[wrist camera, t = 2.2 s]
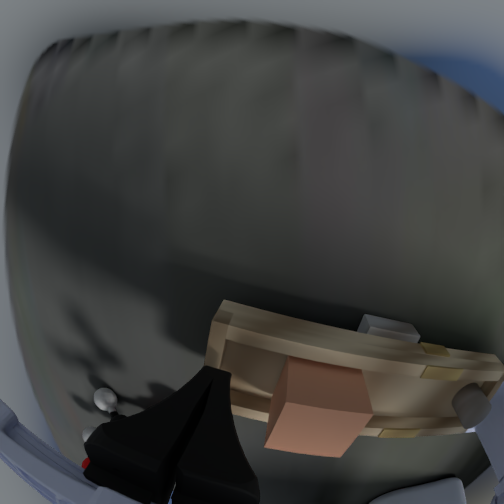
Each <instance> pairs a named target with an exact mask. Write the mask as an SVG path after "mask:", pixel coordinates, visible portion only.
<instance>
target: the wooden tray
mask: <svg viewBox="0 0 504 504" xmlns="http://www.w3.org/2000/svg"><path fill="white" fill-rule="evenodd" d="M420 337H421V336H420V335H419V333H418V332H417V330H416V329H415V328H414V326H413V325H412V324H410V323H405V322H400V321H396V320H391V319H387V318H382V317H377V316H373V315H368V314H364V316H363V318H362V320H361V323H360V325H359V327H358V330H357V332H355V331H350V330H346V329H341V328H336V327H332V326H327V325H323V324H319V323H314V322H310V321H306V320H302V319H297V318H293V317H289V316H285V315H281V314H277V313H273V312H269V311H265V310H262V309H258V308H254V307H250V306H246V305H243V304H239V303H235V302H232V301H228V300H225V299H224V300H223V302H222V304H221V305H220V307H219V309H218V311H217V312H216V314H215V316H214V318H213V319H212V323H211V328H210V333H209V339H208V344H207V350H206V356H205V361H204V366H205V365H207V366H211V367H214V368H217V369H221V370H224V371H228V372H230V373H231V374H232V377H231V382H230V400H231V409H232V414H235V415H239V416H243V417H247V418H251V419H255V420H260V421H264V422H268V417H269V410H270V403H271V398H272V395H273V393H274V390H275V388H276V385H277V383H278V380H279V378H280V375H281V372H282V370H283V367H284V365H285V362H286V359H287V357H288V355H290V356H295V357H299V358H304V359H309V360H313V361H318V362H323V363H328V364H334V365H339V366H345V367H350V368H356V369H362V373H363V376H364V380H365V383H366V387H367V391H368V394H369V398H370V402H371V406H372V410H373V414H374V415H373V416H372V417H371V419H370V420H369V422H368V423H367V424H366V426H365V427H364V428H363V430H362V431H361V432H360V434H359V435H365V436H378V437H380V438H414V437H415V436H436V435H449V434H459V433H465V432H466V431H467V430H468V429H470V428H473V427H475V426H476V425H478V424H479V423H481V422H482V421H483V420H484V419H485V418H486V417H487V416H488V414H489V413H490V411H491V408H492V405H491V404H490V400H491V399H492V398H493V396H494V395H495V393H496V392H497V390H498V389H499V387H500V386H501V384H502V383H503V381H504V365H503V363H502V362H501V361H500V360H499V359H498V358H497V357H496V355H495V354H487V353H479V352H471V351H464V350H456V349H450V348H445V347H444V346H441V345H435V344H429V343H423V342H421V343H420V344H418V343H417V342H418V341H419V339H420Z"/></svg>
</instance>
